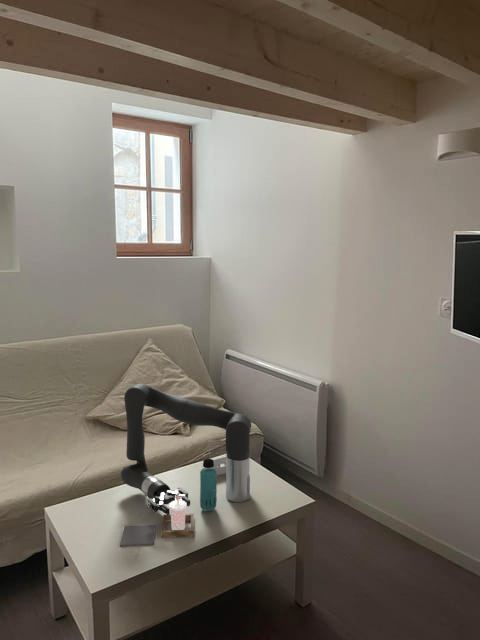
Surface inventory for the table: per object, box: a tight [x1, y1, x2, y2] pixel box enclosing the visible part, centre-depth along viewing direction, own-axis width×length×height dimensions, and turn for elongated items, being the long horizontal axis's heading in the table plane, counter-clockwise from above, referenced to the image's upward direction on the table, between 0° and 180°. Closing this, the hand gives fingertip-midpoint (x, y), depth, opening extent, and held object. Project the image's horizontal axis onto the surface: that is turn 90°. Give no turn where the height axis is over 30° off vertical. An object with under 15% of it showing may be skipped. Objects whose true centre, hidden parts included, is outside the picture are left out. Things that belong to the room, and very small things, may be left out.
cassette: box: [211, 455, 227, 477], centre depth 215 cm, size 12×2×8 cm, turn 123°
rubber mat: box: [119, 524, 157, 547], centre depth 169 cm, size 11×11×1 cm
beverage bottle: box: [199, 458, 218, 512], centre depth 184 cm, size 6×7×20 cm
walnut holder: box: [161, 513, 195, 539], centre depth 174 cm, size 11×11×2 cm
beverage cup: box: [168, 491, 188, 530], centre depth 173 cm, size 6×6×14 cm
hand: (179, 507), depth 172 cm, fingers open, 8 cm apart
